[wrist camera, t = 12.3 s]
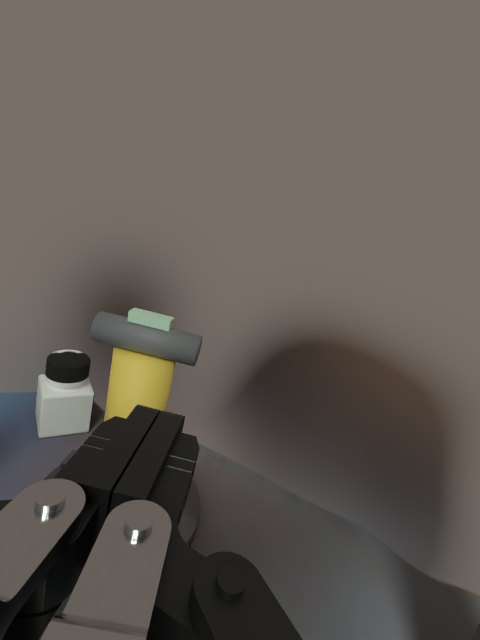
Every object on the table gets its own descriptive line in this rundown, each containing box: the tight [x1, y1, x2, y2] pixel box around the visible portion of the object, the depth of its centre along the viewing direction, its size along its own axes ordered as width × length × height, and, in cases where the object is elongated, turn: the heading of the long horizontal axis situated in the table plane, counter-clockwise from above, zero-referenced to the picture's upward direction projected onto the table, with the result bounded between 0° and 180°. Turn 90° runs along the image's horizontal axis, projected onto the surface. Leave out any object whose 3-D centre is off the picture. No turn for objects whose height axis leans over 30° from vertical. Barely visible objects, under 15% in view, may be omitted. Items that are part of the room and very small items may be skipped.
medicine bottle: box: [35, 350, 94, 438], centre depth 55 cm, size 7×7×12 cm
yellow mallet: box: [91, 308, 202, 422], centre depth 37 cm, size 10×6×22 cm, turn 85°
